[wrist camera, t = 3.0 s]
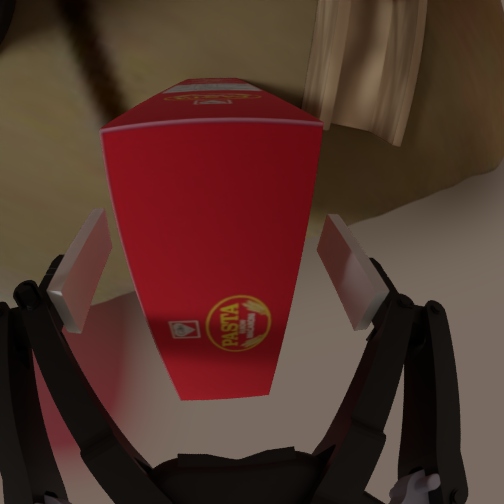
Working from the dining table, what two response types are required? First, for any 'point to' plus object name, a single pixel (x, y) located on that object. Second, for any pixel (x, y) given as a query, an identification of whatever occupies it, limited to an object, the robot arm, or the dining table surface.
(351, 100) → the u rest
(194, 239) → the food packaging
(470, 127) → the dining table surface
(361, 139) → the dining table surface
